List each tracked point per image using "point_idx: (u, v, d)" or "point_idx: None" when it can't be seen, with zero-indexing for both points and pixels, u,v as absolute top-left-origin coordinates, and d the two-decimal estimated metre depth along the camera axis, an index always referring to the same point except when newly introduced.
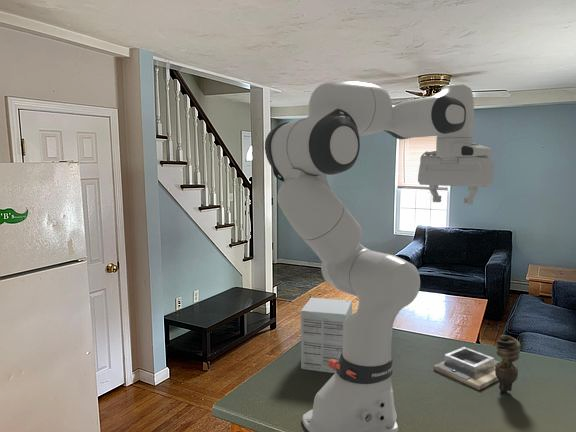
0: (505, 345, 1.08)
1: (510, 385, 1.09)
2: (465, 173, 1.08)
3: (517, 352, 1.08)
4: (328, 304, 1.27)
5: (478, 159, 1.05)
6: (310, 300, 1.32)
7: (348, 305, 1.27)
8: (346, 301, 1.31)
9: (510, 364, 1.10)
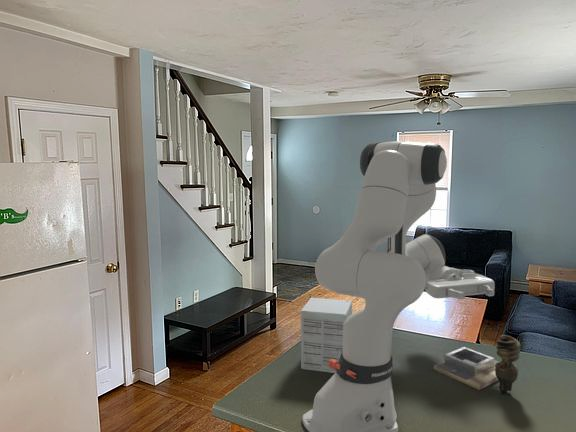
0: (505, 345, 1.08)
1: (510, 385, 1.09)
2: (473, 279, 1.29)
3: (517, 352, 1.08)
4: (328, 304, 1.27)
5: None
6: (310, 300, 1.32)
7: (348, 305, 1.27)
8: (346, 301, 1.31)
9: (510, 364, 1.10)
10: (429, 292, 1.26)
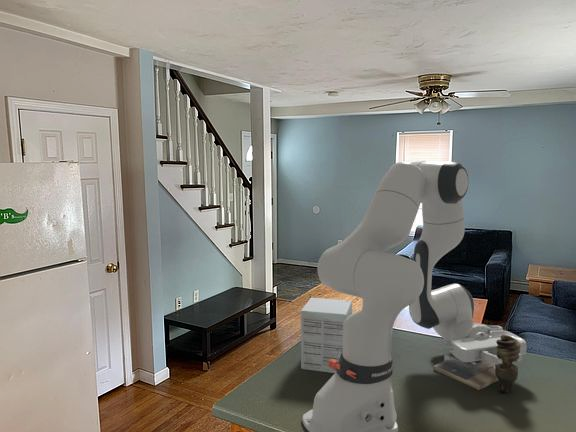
0: (505, 345, 1.08)
1: (510, 385, 1.09)
2: None
3: (517, 352, 1.08)
4: (328, 304, 1.27)
5: (505, 331, 1.22)
6: (310, 300, 1.32)
7: (348, 305, 1.27)
8: (346, 301, 1.31)
9: (510, 364, 1.10)
10: (455, 354, 1.15)
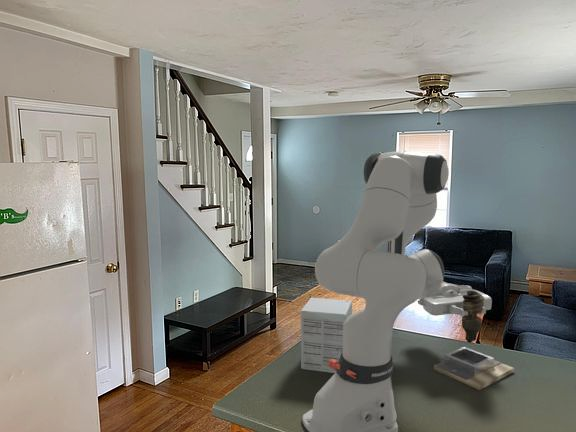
0: (470, 298, 1.19)
1: (475, 335, 1.21)
2: None
3: (481, 305, 1.19)
4: (328, 304, 1.27)
5: None
6: (310, 300, 1.32)
7: (348, 305, 1.27)
8: (346, 301, 1.31)
9: (475, 316, 1.22)
10: (426, 309, 1.26)
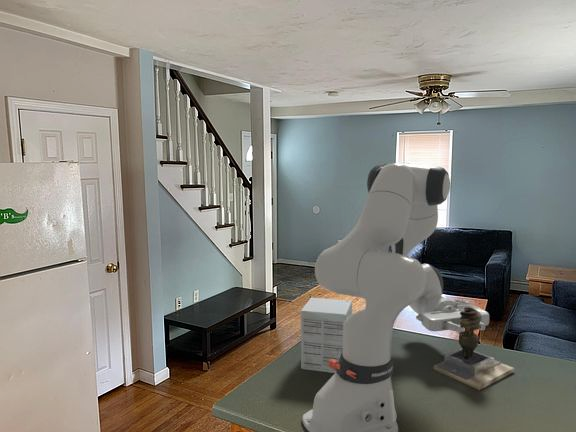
0: (467, 315, 1.20)
1: (471, 352, 1.22)
2: None
3: (478, 322, 1.20)
4: (328, 304, 1.27)
5: (471, 305, 1.35)
6: (310, 300, 1.32)
7: (348, 305, 1.27)
8: (346, 301, 1.31)
9: (472, 333, 1.23)
10: (425, 324, 1.27)
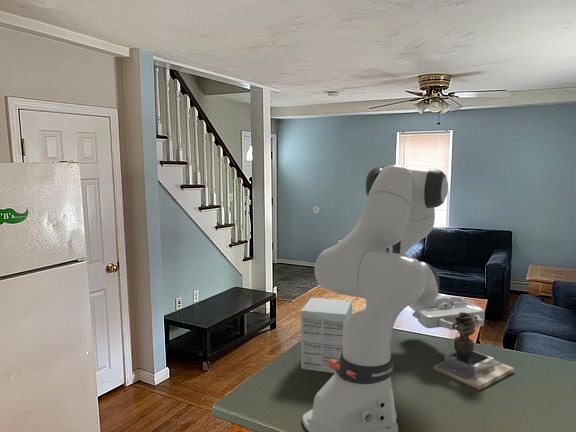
0: (462, 320, 1.21)
1: (467, 357, 1.22)
2: (464, 309, 1.33)
3: (472, 327, 1.21)
4: (328, 304, 1.27)
5: (467, 302, 1.37)
6: (310, 300, 1.32)
7: (348, 305, 1.27)
8: (346, 301, 1.31)
9: (467, 338, 1.23)
10: (421, 321, 1.29)
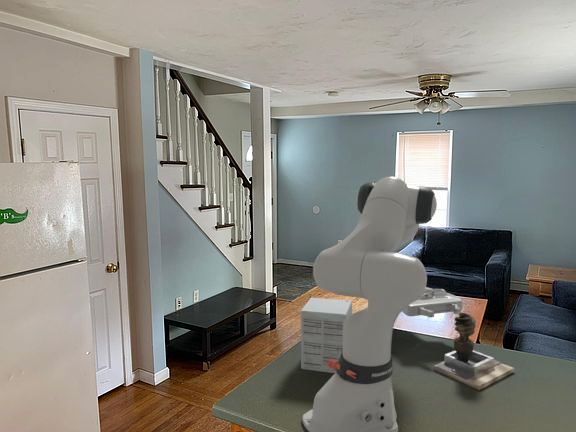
0: (461, 321, 1.20)
1: (466, 357, 1.22)
2: (444, 298, 1.43)
3: (472, 327, 1.20)
4: (328, 304, 1.27)
5: (447, 293, 1.47)
6: (310, 300, 1.32)
7: (348, 305, 1.27)
8: (346, 301, 1.31)
9: (467, 339, 1.23)
10: (403, 310, 1.39)
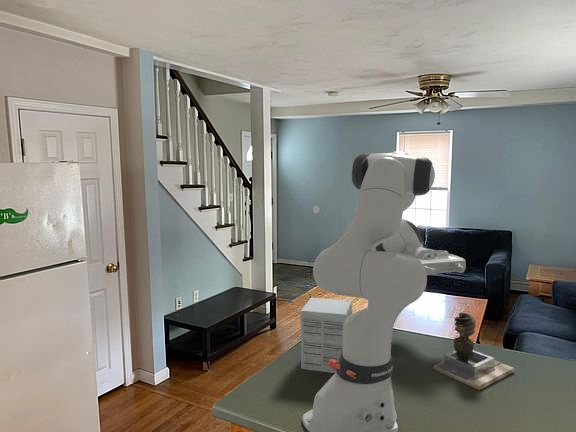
0: (461, 321, 1.20)
1: (466, 357, 1.22)
2: (446, 259, 1.40)
3: (472, 327, 1.20)
4: (328, 304, 1.27)
5: (450, 254, 1.44)
6: (310, 300, 1.32)
7: (348, 305, 1.27)
8: (346, 301, 1.31)
9: (467, 339, 1.23)
10: None
